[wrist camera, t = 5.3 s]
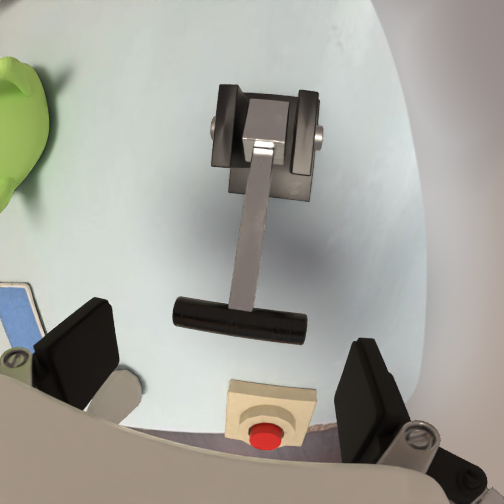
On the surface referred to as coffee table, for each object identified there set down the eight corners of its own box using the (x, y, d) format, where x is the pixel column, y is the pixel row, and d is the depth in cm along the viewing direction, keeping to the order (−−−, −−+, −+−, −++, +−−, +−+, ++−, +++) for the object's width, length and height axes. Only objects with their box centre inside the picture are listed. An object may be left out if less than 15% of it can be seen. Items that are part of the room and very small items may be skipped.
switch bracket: (308, 200, 26) (324, 225, 15) (230, 191, 26) (188, 209, 15) (318, 102, 23) (341, 55, 12) (240, 95, 24) (205, 46, 13)
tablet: (-8, 282, 34) (-13, 284, 33) (31, 282, 33) (25, 285, 31) (30, 377, 40) (26, 381, 38) (74, 391, 38) (70, 395, 36)
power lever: (300, 342, 14) (305, 348, 12) (181, 325, 15) (166, 326, 12) (319, 130, 16) (325, 106, 14) (221, 121, 17) (215, 96, 15)
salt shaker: (154, 386, 34) (112, 458, 22) (135, 401, 36) (95, 466, 23) (120, 356, 34) (67, 422, 21) (104, 374, 35) (56, 434, 23)
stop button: (284, 423, 29) (283, 434, 27) (279, 441, 30) (278, 451, 28) (252, 419, 29) (250, 430, 28) (249, 437, 30) (247, 448, 29)
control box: (315, 389, 31) (317, 413, 28) (301, 434, 34) (300, 456, 30) (231, 379, 32) (224, 402, 28) (227, 425, 35) (222, 447, 31)
